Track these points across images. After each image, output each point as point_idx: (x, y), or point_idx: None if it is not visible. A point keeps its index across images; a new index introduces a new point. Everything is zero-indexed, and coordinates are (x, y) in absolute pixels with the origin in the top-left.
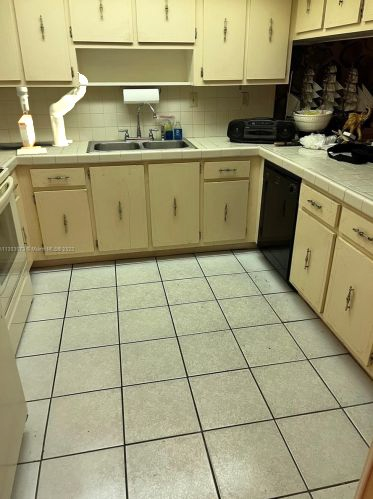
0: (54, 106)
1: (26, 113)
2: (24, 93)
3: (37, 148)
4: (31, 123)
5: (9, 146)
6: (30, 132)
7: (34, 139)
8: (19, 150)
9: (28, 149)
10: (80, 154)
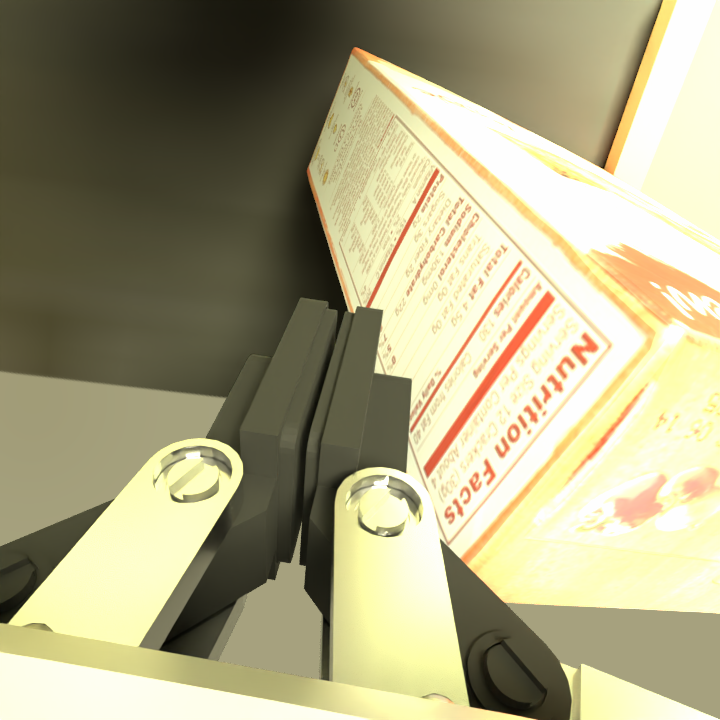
0: None
1: (466, 572)
2: None
3: (698, 71)
4: (629, 217)
5: None
6: (675, 218)
7: (435, 85)
8: None
9: (693, 217)
10: None
